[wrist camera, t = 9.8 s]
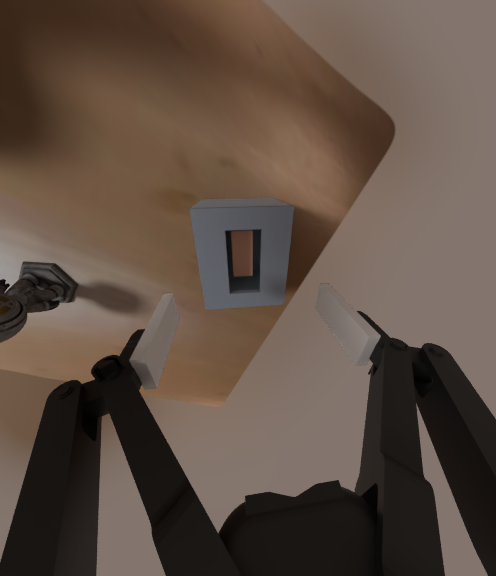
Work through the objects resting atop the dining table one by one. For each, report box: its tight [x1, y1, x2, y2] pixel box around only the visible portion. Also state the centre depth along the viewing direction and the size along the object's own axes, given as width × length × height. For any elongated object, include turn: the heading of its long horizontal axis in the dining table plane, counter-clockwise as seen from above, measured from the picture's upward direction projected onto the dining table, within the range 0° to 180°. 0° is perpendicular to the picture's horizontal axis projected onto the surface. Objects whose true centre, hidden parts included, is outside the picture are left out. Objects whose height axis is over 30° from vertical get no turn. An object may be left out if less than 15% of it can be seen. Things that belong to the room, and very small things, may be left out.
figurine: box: [0, 262, 78, 343], centre depth 29 cm, size 9×10×15 cm
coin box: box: [190, 198, 294, 310], centre depth 30 cm, size 14×12×12 cm
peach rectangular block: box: [231, 230, 253, 277], centre depth 31 cm, size 7×3×8 cm, turn 1°
